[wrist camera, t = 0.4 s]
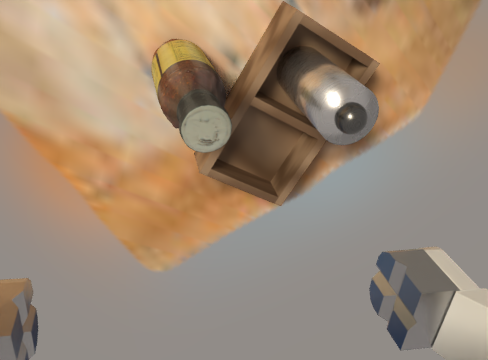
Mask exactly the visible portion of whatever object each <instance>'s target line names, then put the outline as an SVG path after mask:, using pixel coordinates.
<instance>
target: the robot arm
mask: <svg viewBox="0 0 488 360" xmlns="http://www.w3.org/2000/svg"><path fill="white" fill-rule="evenodd" d="M376 265H377V267H378V269H379V272H378V273H377V274H376V275H375V276H374V277H373V278H372V281H371V284H370V288H369V289H370V299H371V303H372V305H373V308H374V310H375V311H376V313H377V315H378V316H380V317H382V318H383V319H385V320H386V321H388V325H387V330H388V332H389V333H390V335H391V337H392V338H393V340H394V341H395V343H396V344H397V346H398V347H399V349H400V350H411V349H420V348H430V347H432V350H434V351H435V352H436V353H438V354H439V355H440V356H442V357H443V358H444V359H446V360H488V289H486V288H484V289H480V288H479V287H478V286H477V285H476V284H475V283H474V282H473V281H472V280H471V279H470V278H469V277H468V276H467V275H466V274H465V273H464V272H463V271H462V270H461V269H460V267H459V266H458V265H457V264H456V263H455V262H454V261H453V260H452V259H451V258H450V257H449V256H448V255H447V254H446V253H445V252H444V251H443V250H442V249H440V248H438V247H428V248H418V249H409V250H398V251H385V252H382V253H381V254H380V256H379V257H378V260H377V263H376ZM32 296H33V288H32V284H31V280H29V279H28V278H22V279H4V280H0V360H29V359H30V358H31V357H32V356H33V355H34V354H35V351H36V346H37V339H38V338H37V337H38V317H37V310H36V308H35V307H34V306H32V305H31V301H32Z"/></svg>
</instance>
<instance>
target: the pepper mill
mask: <svg viewBox="0 0 488 360" xmlns="http://www.w3.org/2000/svg"><path fill="white" fill-rule="evenodd" d="M276 73H277V81H278V83H279V85H280V87H281V88H282V89H283V90H284V92H285V93H286V94H287V95H288V96H289V97H290V99H291V100H292V101H293V102H294V103H295V104H296V106H297V107H298V108H299V109H300V110H301V111H302V113H303V114H304V115H305V116H306V117H307V118H308V120H309V121H310V122H311V123H312V124H313V125H314V126H315V128H316V129H317V130H318V131H319V132H320V133H321V135H322V136H323V137H324V138H325V139H326V140H327V141H329V142H330V143H333V144H336V145H348V144H352V143H354V142H357V141H359V140H360V139H362V138H363V137H364V136H366V135H367V134H368V133H369V132H370V130H371V129H372V128H373V126H374V124H375V122H376V120H377V117H378V111H379V106H378V101H377V98H376V96H375V95H374V93H373V92H372V91H371V90H369V89H368V88H367V87H365V86H364V85H363V84H361V83H360V82H359V81H357V80H356V79H355V78H353V77H352V76H351V75H349V74H348V73H347V72H345V71H344V70H343V69H341V68H340V67H338V66H337V65H336V64H334V63H333V62H332V61H330V60H329V59H328V58H326V57H325V56H324V55H322V54H321V53H320V52H318V51H317V50H316V49H314V48H312V47H309V46H298V47H295V48H293V49H291V50H289V51H288V52H287V53H285V54H284V56H283V57H282V58H281V60H280V62H279V64H278V67H277V72H276Z"/></svg>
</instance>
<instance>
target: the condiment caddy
mask: <svg viewBox="0 0 488 360" xmlns="http://www.w3.org/2000/svg"><path fill="white" fill-rule="evenodd" d="M298 46H309V47H312V48H314V49H316V50H317V51H318V52H320V53H321V54H322V55H324V56H325V57H326V58H328V59H329V60H330V61H332V62H333V63H334V64H336V65H337V66H338V67H340V68H341V69H343V70H344V71H345V72H347V73H348V74H349V75H351V76H352V77H353V78H355V79H356V80H357V81H359V82H360V83H361V84H363V85H364V86H365V84H366V83H367V81H368V80H369V79H370V77H371V76H372V74H373V73H374V71H375V70H376V68H377V67H378V66H379V64H380V63H378V62H377V61H375V60H374V59H372V58H371V57H369V56H368V55H366V54H365V53H363V52H362V51H360V50H359V49H357V48H355V47H354V46H352V45H351V44H349V43H348V42H346V41H345V40H343V39H342V38H340V37H339V36H337V35H336V34H334V33H333V32H331V31H329V30H328V29H326V28H325V27H323V26H322V25H320V24H319V23H317V22H316V21H314V20H313V19H311V18H310V17H308V16H307V15H305V14H303V13H302V12H300V11H299V10H297V9H296V8H294V7H292V6H291V5H289V4H287V3H286V2H284V1H283V2H282V3H281V5H280V7H279V9H278V10H277V12H276V14H275V16H274V17H273V19H272V21H271V22H270V24H269V26H268V28H267V29H266V31H265V33H264V34H263V36H262V38H261V40H260V41H259V43H258V45H257V47H256V48H255V50H254V52H253V53H252V55H251V57H250V59H249V60H248V62H247V64H246V65H245V67H244V69H243V71H242V72H241V74H240V76H239V77H238V79H237V81H236V83H235V84H234V86H233V88H232V90H231V91H230V93H229V95H228V96H227V98H226V101H225V106H224V108H225V109H226V111H227V112H228V115H229V117H230V119H231V122H232V131H231V135H230V138H229V140H228V141H227V143H226V144H225V145H223V146H222V147H221V148H219V149H217V150H215V151H212V152H207V153H201V152H198V151H195V153H194V155H195V158H196V162H197V166H198V169H199V173H201V174H204V175H206V176H208V177H211V178H213V179H216V180H218V181H221V182H223V183H226V184H228V185H230V186H233V187H235V188H238V189H240V190H243V191H245V192H247V193H250V194H252V195H255V196H257V197H260V198H262V199H265V200H267V201H269V202H272V203H274V204H277V205H279V206H281V205H282V204H283V202H284V201H285V199H286V198H287V196H288V195H289V194H290V192H291V191H292V189H293V188H294V186H295V185H296V183H297V182H298V181H299V179H300V178H301V176H302V175H303V173H304V172H305V171H306V169H307V168H308V166H309V165H310V163H311V162H312V160H313V159H314V158H315V156H316V155H317V153H318V152H319V150H320V149H321V148H322V146H323V145H324V143H325V142H326V139H325V138H324V137H323V136H322V135H321V133H320V132H319V131H318V130H317V129H316V128H315V126H314V125H313V124H312V123H311V122H310V121H309V120H308V118H307V117H306V116H305V115H304V114H303V113H302V111H301V110H300V109H299V108H298V107H297V106H296V104H295V103H294V102H293V101H292V100H291V99H290V97H289V96H288V95H287V94H286V93H285V92H284V90H283V89H282V88H281V87H280V85H279V83H278V81H277V73H276V72H277V67H278V64H279V62H280V60H281V58H282V57H283V56H284V54H285V53H287V52H288V51H289V50H291V49H293V48H295V47H298Z"/></svg>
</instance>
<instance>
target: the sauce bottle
mask: <svg viewBox="0 0 488 360" xmlns="http://www.w3.org/2000/svg"><path fill="white" fill-rule="evenodd" d="M152 76H153V80H154V84H155V88H156V92H157V96H158V100H159V103H160V105H161V109H162V111H163V113H164V114H165V116H166V117H167V119H168V120H169V121H170V122H171V123H172V125H173V126H174V127H175V128H179V130H180V134H181V137H182V139H183V140H184V142H185V144H186V145H187V146H188V147H189V148H191V149H192V150H194V151H198V152H201V153H207V152H212V151H215V150H217V149H219V148H221V147H222V146H223V145H225V144H226V143H227V141H228V140H229V138H230V135H231V131H232V122H231V119H230V117H229V115H228V112H227V111H226V109H225V108H224V106H225V101H226V93H225V88H224V85H223V82H222V80H221V78H220V77H219V75H218V73H217V72H216V71H215V69H214V68H213V66H212V65H211V63H210V62H209V60H208V59H207V57H206V56H205V54H204V53H203V51H202V50H201V49H200V48H199V47H198V46H197V45H195V44H194V43H192V42H189V41H187V40H181V39H171V40H169V41H167V42H165V43H164V44H163V45H161V46H160V47H159V48H158V49H157V50H156V51H155V53H154V56H153V61H152Z"/></svg>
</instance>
